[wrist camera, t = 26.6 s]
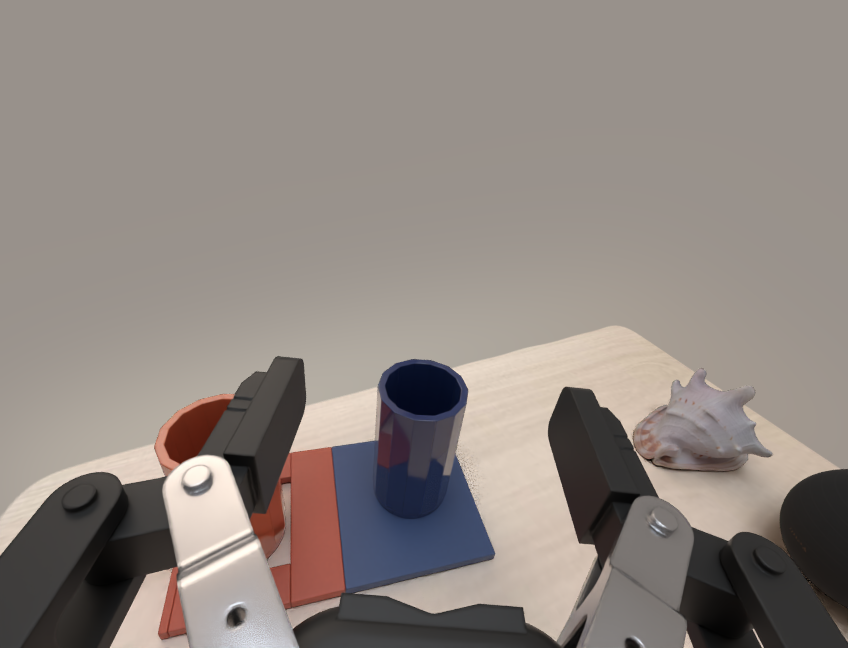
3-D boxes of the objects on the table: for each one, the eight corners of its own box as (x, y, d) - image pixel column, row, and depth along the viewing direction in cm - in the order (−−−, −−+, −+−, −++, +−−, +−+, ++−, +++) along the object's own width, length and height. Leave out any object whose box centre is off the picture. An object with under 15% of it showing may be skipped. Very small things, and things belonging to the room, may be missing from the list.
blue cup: (380, 527, 30) (388, 427, 24) (367, 458, 36) (372, 362, 30) (456, 511, 32) (481, 415, 26) (434, 448, 37) (451, 355, 31)
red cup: (187, 586, 27) (140, 485, 21) (203, 500, 32) (170, 398, 26) (285, 565, 28) (268, 466, 22) (286, 486, 33) (273, 388, 27)
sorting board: (160, 640, 24) (157, 634, 24) (197, 471, 34) (195, 465, 33) (493, 559, 30) (495, 553, 30) (445, 435, 40) (446, 430, 39)
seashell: (771, 469, 40) (833, 402, 35) (696, 508, 36) (754, 438, 31) (683, 401, 48) (723, 338, 43) (610, 426, 43) (646, 358, 38)
